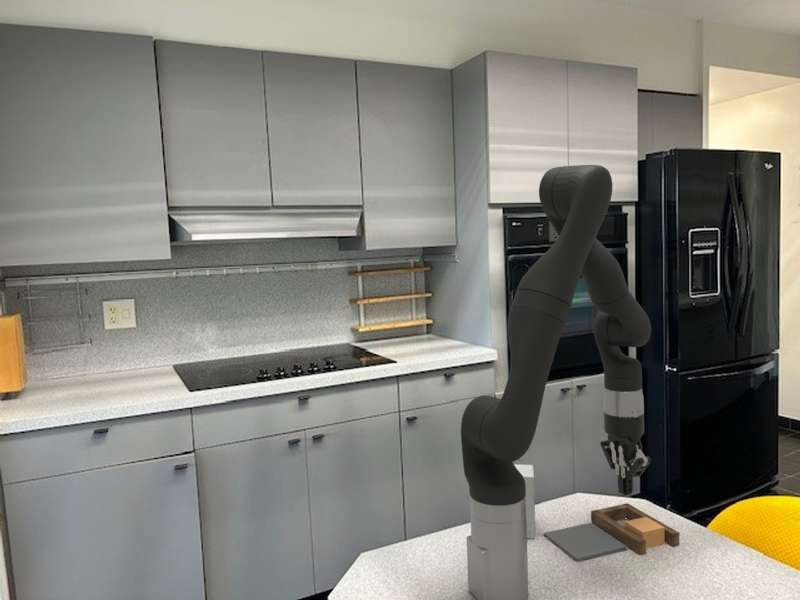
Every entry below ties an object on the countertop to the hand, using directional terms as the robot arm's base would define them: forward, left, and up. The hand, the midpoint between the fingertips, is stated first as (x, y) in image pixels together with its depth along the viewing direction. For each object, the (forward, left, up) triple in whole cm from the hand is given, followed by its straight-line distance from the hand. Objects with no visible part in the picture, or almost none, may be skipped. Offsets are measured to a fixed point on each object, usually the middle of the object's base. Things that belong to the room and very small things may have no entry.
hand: (625, 493), depth 123 cm
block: (0, -6, -7) cm, 9 cm away
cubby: (0, -3, -7) cm, 8 cm away
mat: (-11, -2, -7) cm, 14 cm away
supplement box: (-20, +8, -7) cm, 23 cm away
